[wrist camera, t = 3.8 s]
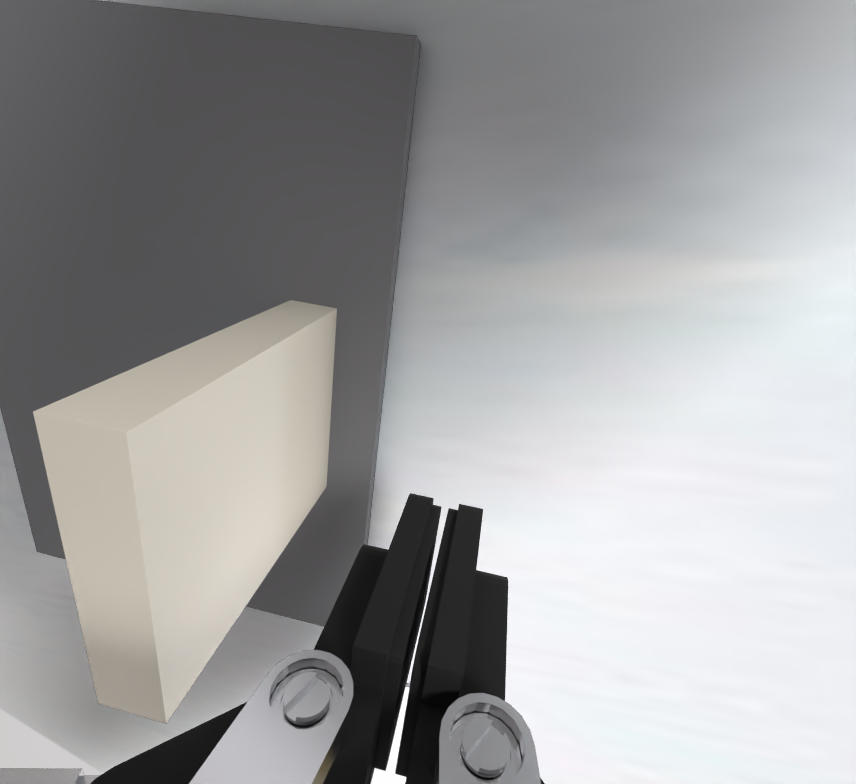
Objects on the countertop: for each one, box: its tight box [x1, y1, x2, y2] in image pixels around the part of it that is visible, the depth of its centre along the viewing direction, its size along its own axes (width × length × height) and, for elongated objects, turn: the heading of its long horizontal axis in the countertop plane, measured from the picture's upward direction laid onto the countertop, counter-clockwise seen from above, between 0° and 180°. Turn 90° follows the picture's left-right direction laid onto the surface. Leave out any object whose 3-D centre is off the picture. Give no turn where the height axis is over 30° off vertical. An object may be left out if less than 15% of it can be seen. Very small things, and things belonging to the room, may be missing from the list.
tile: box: [33, 300, 337, 724], centre depth 13 cm, size 7×2×9 cm, turn 172°
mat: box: [0, 0, 421, 627], centre depth 18 cm, size 22×16×1 cm
